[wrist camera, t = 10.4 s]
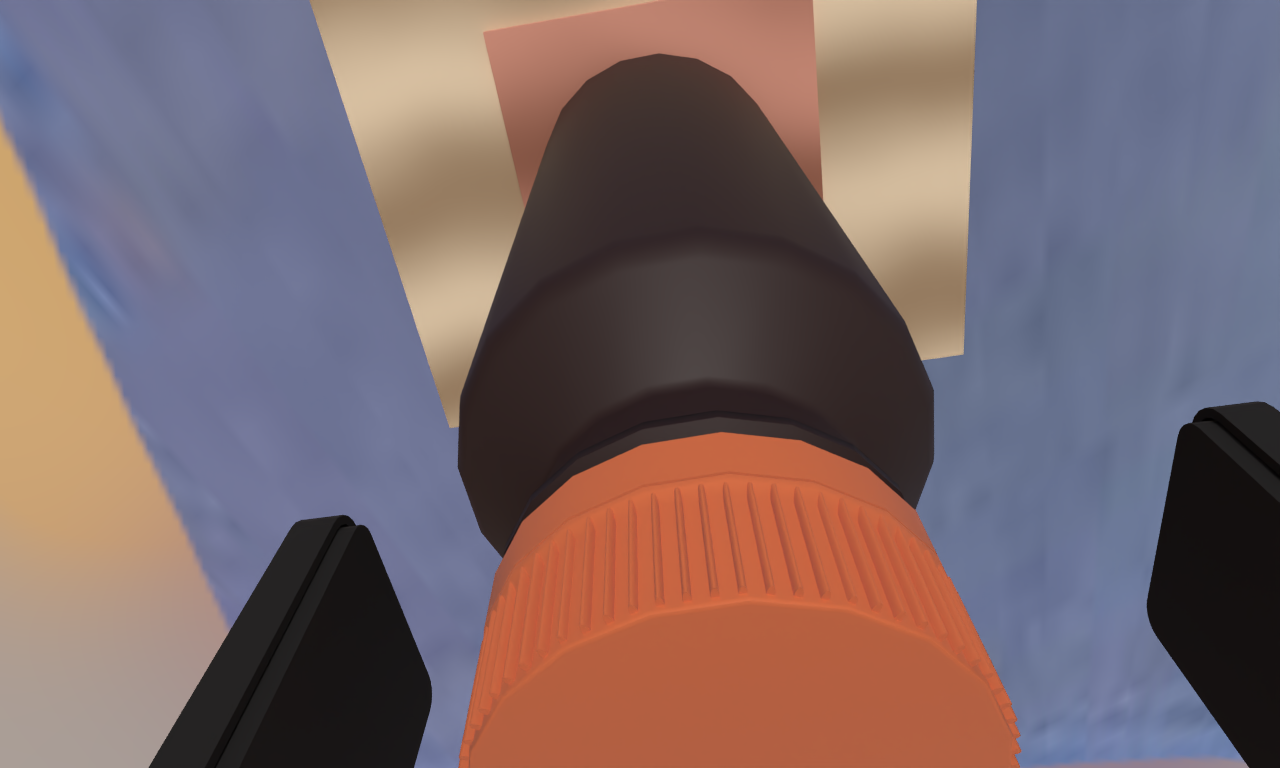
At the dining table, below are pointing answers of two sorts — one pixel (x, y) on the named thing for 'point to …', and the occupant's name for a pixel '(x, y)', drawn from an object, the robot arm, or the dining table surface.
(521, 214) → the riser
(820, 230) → the vinegar
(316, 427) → the dining table surface
